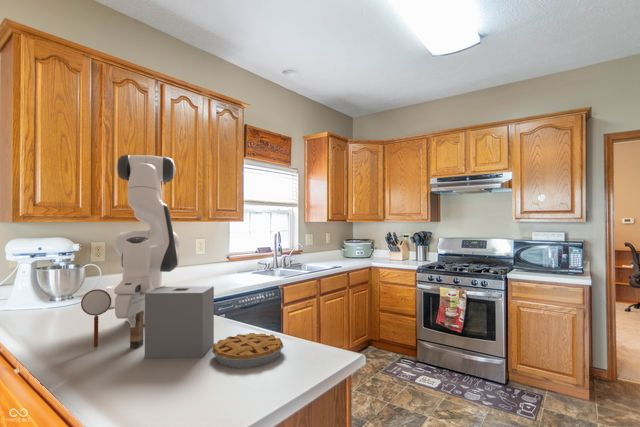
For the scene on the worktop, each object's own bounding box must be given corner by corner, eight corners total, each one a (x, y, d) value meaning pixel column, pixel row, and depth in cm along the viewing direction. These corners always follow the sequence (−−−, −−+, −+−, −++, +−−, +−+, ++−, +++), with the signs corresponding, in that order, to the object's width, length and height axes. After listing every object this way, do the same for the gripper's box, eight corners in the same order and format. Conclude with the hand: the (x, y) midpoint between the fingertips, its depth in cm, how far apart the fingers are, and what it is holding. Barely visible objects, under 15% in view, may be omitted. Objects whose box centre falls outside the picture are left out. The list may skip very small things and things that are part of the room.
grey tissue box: (161, 345, 123) (161, 286, 124) (213, 344, 123) (213, 286, 124) (144, 358, 111) (144, 293, 112) (202, 357, 111) (202, 292, 112)
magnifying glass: (111, 347, 121) (111, 287, 122) (110, 348, 120) (111, 288, 120) (81, 350, 118) (81, 289, 118) (80, 352, 116) (80, 290, 117)
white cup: (122, 307, 180) (122, 287, 181) (104, 308, 177) (104, 288, 178) (124, 304, 188) (124, 285, 188) (107, 305, 185) (107, 286, 185)
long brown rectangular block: (134, 344, 123) (134, 298, 124) (143, 344, 123) (143, 298, 124) (129, 347, 120) (130, 300, 121) (138, 347, 120) (139, 299, 121)
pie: (297, 356, 112) (297, 340, 112) (236, 377, 97) (235, 359, 97) (257, 340, 128) (257, 326, 128) (199, 356, 112) (199, 340, 112)
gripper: (142, 279, 133) (142, 317, 132) (110, 290, 112) (110, 334, 112) (159, 279, 133) (159, 317, 133) (130, 289, 113) (130, 334, 112)
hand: (136, 325), depth 122 cm, fingers closed on long brown rectangular block, 3 cm apart
